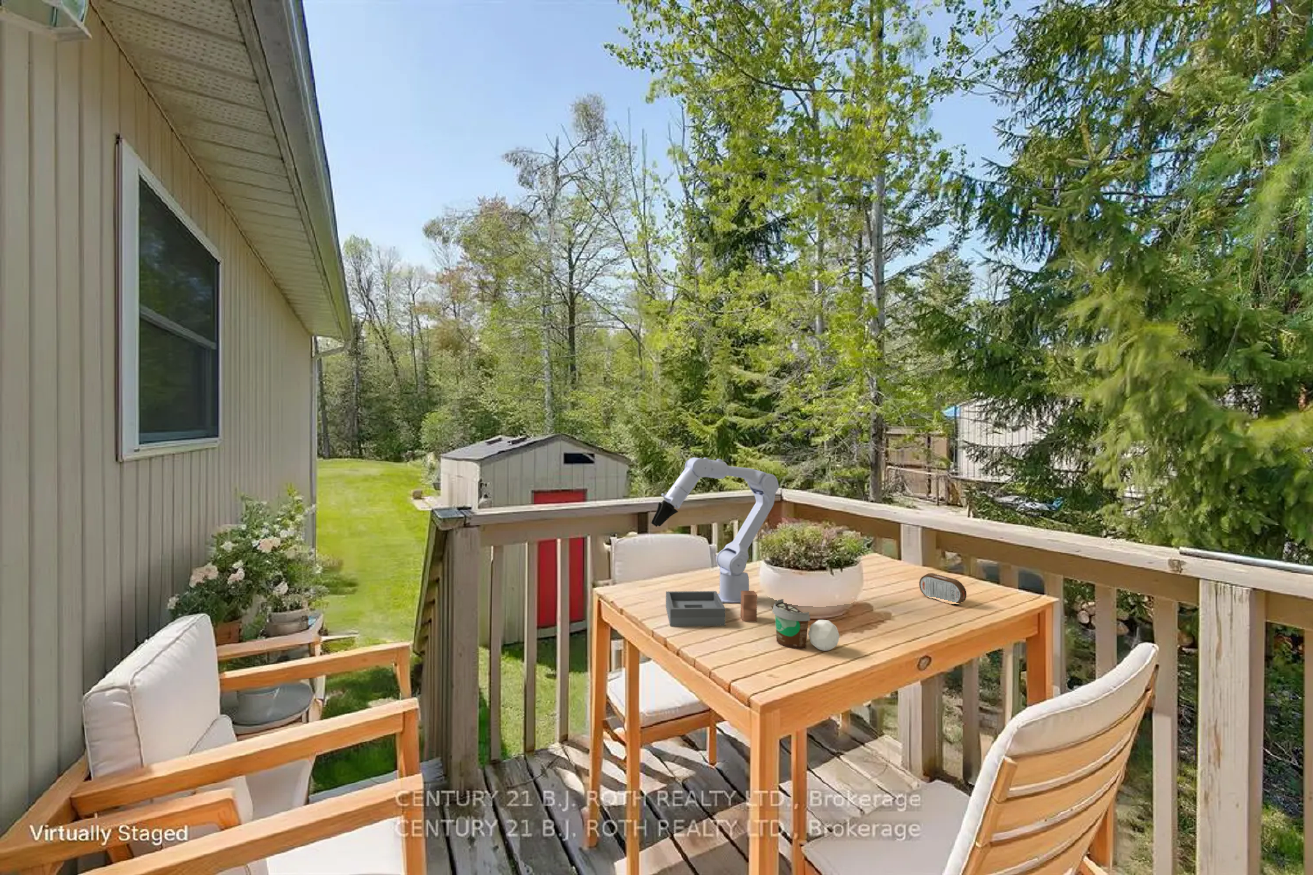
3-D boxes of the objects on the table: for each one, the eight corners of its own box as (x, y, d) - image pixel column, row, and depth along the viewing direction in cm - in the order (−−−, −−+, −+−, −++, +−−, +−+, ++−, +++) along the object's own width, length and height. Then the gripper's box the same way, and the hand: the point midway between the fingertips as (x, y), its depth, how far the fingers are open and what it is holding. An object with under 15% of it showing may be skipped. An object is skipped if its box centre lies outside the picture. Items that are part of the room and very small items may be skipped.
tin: (966, 607, 185) (967, 581, 184) (961, 608, 183) (962, 582, 182) (922, 594, 197) (923, 570, 197) (917, 595, 195) (918, 571, 195)
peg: (753, 616, 174) (754, 590, 173) (756, 621, 170) (757, 594, 169) (740, 616, 174) (741, 590, 173) (743, 621, 170) (743, 594, 169)
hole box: (715, 606, 182) (716, 591, 182) (725, 625, 166) (725, 608, 166) (665, 607, 181) (666, 591, 181) (670, 626, 165) (670, 609, 165)
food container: (762, 636, 159) (763, 600, 158) (781, 633, 161) (782, 598, 160) (789, 654, 147) (790, 615, 147) (809, 650, 150) (810, 612, 149)
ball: (818, 655, 153) (817, 625, 157) (846, 653, 148) (843, 622, 152) (803, 648, 149) (802, 617, 153) (831, 645, 144) (829, 613, 148)
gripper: (667, 484, 187) (642, 517, 185) (674, 479, 173) (647, 516, 170) (684, 497, 187) (660, 530, 185) (692, 493, 173) (666, 530, 170)
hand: (655, 524), depth 178 cm, fingers open, 7 cm apart
